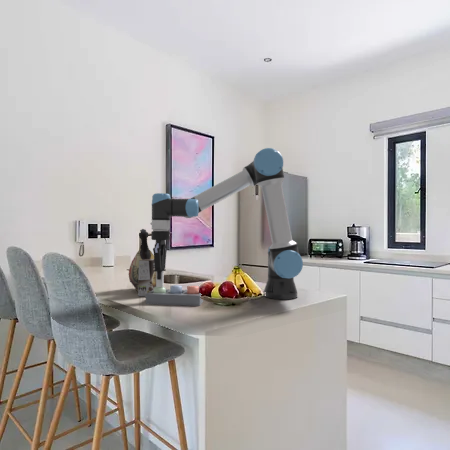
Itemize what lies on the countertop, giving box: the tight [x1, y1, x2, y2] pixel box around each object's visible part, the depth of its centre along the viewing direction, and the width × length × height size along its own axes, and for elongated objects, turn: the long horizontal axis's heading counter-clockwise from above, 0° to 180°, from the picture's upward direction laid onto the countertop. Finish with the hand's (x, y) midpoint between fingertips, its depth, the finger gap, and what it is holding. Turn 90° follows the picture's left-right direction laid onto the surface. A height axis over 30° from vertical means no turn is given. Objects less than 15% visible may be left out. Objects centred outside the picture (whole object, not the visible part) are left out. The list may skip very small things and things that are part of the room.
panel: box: [145, 288, 204, 307], centre depth 147 cm, size 22×12×4 cm, turn 84°
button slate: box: [170, 284, 183, 294], centre depth 147 cm, size 5×5×4 cm
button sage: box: [154, 286, 167, 293], centre depth 148 cm, size 5×5×4 cm
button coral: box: [186, 285, 200, 294], centre depth 146 cm, size 5×5×4 cm
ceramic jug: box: [128, 228, 154, 292], centre depth 172 cm, size 17×15×30 cm
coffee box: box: [137, 259, 156, 297], centre depth 162 cm, size 9×6×16 cm
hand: (159, 286), depth 148 cm, fingers closed
